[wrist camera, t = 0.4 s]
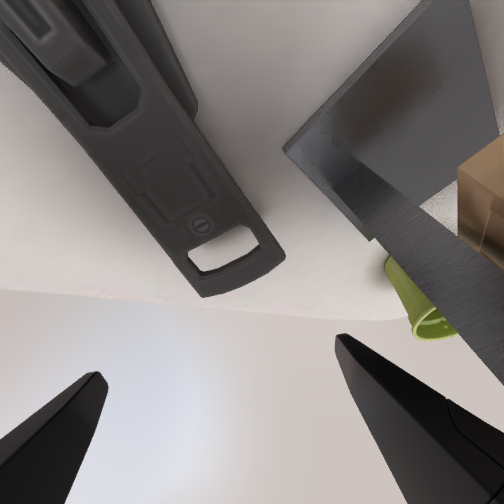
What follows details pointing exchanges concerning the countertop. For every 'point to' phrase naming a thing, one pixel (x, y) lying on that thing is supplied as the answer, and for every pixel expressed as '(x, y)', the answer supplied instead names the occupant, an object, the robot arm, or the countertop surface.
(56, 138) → the countertop surface
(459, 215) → the cardboard box
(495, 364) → the post stand
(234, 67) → the countertop surface
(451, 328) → the plant pot
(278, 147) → the countertop surface
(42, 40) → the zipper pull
